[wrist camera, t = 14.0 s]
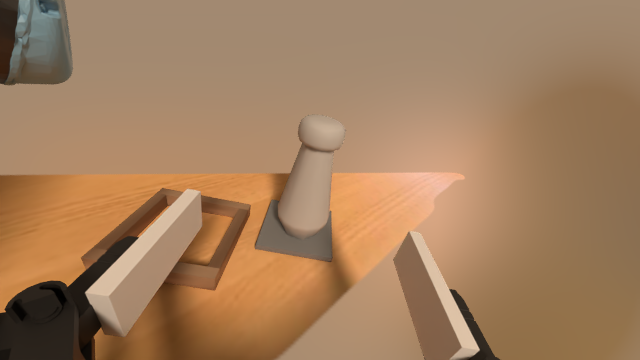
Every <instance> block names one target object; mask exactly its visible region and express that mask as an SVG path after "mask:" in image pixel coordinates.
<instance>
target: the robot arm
mask: <svg viewBox="0 0 640 360" xmlns="http://www.w3.org/2000/svg"><path fill="white" fill-rule="evenodd" d="M72 69H73V67H72V53H71V43H70V36H69V28H68V20H67V14H66V7H65V1H64V0H0V84H4V85H14V84H16V83H23V84H59V83H62V82H65V81H66V80H67V79H68V78H69V77H70V76H71V74H72ZM201 227H202V210H201V191H196V190H191V189H187V190H186V191H185V192H184V193H183V194H182V195H181V196H180V197H179V198H178V199H177V200H176V201H175V202H174V203H173V204H172V205H171V206H170V207H169V208H168V209H167V210H166V211H165V212H164V213H163V214H162V215H161V216H160V217H159V218H158V219H157V220H156V221H155V222H154V223H153V224H152V225H151V226H150V227H149V228H148V229H147V230H146V231H145V232H144V233H143V234H142V235H141V236H140V237H134V236H127V237H125V238H124V239H122V240H120V241H118V242H116V243H115V244H114V245H113V246H112V247H111V248H109V249H108V250H107V251H106V252H105V254H103V255H102V256H101V257H100V258H99V259H98V260H97V262H94V263H93V264H92V265H91V266H90V267H89V268H88V269H87V270H86V271H85V272H84V273H82V274H81V275H80V276H79V277H78V278H77V279H76V280H75V281H74V282H73V283H72V284H71V285H69V286H68V287H67V285H66V284H65V283H63V282H61V281H47V282H42V283H39V284H36V285H33V286H31V287H28V288H27V289H25V290H23V291H22V292H20V293H18V294H17V295H16V296H15V297H14V298H13V299H11V300H10V301H9V302H8V304H7V306H6V308H5V311H6V312H4V313H0V360H95V340H94V337H93V336H94V335H95V334H96V333H97V331H98V330H99V329H100V328H102V330H103V332H104V334H105V335H113V336H121V337H125V336H126V335H127V333H128V332H129V331H130V329H131V328H132V326H133V325H134V323H135V322H136V321H137V319H138V318H139V316H140V315H141V313H142V312H143V310H144V309H145V308H146V306H147V305H148V303H149V302H150V300H151V299H152V298H153V296H154V295H155V293H156V292H157V290H158V289H159V287H160V286H161V285H162V283H163V282H164V280H165V279H166V277H167V276H168V275H169V273H170V272H171V270H172V269H173V267H174V266H175V265H176V263H177V262H178V260H179V259H180V257H181V256H182V254H183V253H184V252H185V250H186V249H187V247H188V246H189V244H190V243H191V242H192V240H193V239H194V237H195V236H196V234H197V233H198V231H199V230H200V229H201ZM393 261H394V264H395V267H396V270H397V273H398V276H399V280H400V283H401V286H402V289H403V292H404V295H405V299H406V302H407V305H408V308H409V311H410V314H411V317H412V321H413V324H414V327H415V330H416V333H417V336H418V339H419V343H420V346H421V349H422V352H423V356H424V359H425V360H500V359H498V358H497V357H495V356H494V354H493V353H492V351H491V349H490V347H489V345H488V343H487V342H486V340H485V338H484V336H483V334H482V332H481V331H480V329H479V327H478V325H477V323H476V321H474V318H473V316H472V314H471V313H470V312H469V309H468V307H467V305H466V303H465V301H464V300H463V299H462V297H461V296H460V295H459V294H458V293H457V292H456V290H452V289H449V288H448V286H447V285H446V283H445V281H444V279H443V277H442V275H441V273H440V271H439V269H438V267H437V265H436V263H435V261H434V259H433V257H432V255H431V253H430V251H429V249H428V247H427V245H426V243H425V241H424V239H423V237H422V235H421V233H418V232H413V231H409V232H408V234H407V236H406V237H405V239H404V241H403V243H402V245H401V247H400V248H399V250H398V252H397V254H396V256H395V257H394V259H393Z"/></svg>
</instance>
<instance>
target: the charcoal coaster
mask: <svg viewBox="0 0 640 360" xmlns="http://www.w3.org/2000/svg"><path fill="white" fill-rule="evenodd" d="M278 203H279V201H277V200H272V201H271V204H270V206H269V209H268V212H267V215H266V217H265V220H264V223H263V226H262V228H261V231H260V234H259V237H258V240H257V242H256V246H255V249H259V250H265V251H270V252H276V253H282V254H288V255H293V256H299V257H305V258H311V259H317V260H322V261H328V262H331V260H332V227H331V211H329V217H328V220H327V223H326V225H325V226H324V227H323V228H322V229H321V230H320V231H319V232H318V233H317V234H316V235H315V236H312V237H309V238H307V239H304V240H300V239H298V238H295V237H292V236H289V235H287V234H286V231H285V229H284V227H283V225H282V223H281V221H280V219H279V217H278Z"/></svg>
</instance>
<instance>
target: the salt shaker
mask: <svg viewBox="0 0 640 360" xmlns="http://www.w3.org/2000/svg"><path fill="white" fill-rule="evenodd" d="M345 131H346V130H345V128H344V126H343V124H342V123H341V122H339V121H337V120H335V119H333V118H331V117H327V116H323V115H308V116H306V117H305V118H303V119H302V120H301V122H300V125H299V129H298V136H299V139H300V141H301V142H302V145H301V148H300V150H299V153H298V155H297V158H296V160H295V163H294V165H293V168H292V171H291V173H290V176H289V178H288V181H287V183H286V186H285V188H284V191H283V193H282V196H281V198H280V201H279V203H278V217H279V219H280V221H281V223H282V225H283V227H284V229H285V231H286V234H287V235H289V236H292V237H295V238H298V239H300V240H304V239H307V238H309V237H312V236H315V235H316V234H317V233H318V232H319V231H320V230H321V229H322V228H323V227H324V226H325V225H326V223H327V220H328V217H329V210H330V194H331V179H332V163H333V153H334V151H335V150H338V149H340V147H341V146H342V144H343V141H344V138H345Z"/></svg>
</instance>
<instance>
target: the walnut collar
mask: <svg viewBox="0 0 640 360" xmlns="http://www.w3.org/2000/svg"><path fill="white" fill-rule="evenodd" d="M183 193H184V192H180V191H175V190H170V189H165V188H162V189H161V190H160V191H159V192H157V193H156V194H155V195H154V196H153V197H152V198H150V199H149V200H148V201H147V202H146V203H144V204H143V205H142V206H141V207H140V208H139V209H137V210H136V211H135V212H134V213H133V214H132V215H130V216H129V217H128V218H127V219H126V220H125V221H123V222H122V223H121V224H120V225H119V226H118V227H116V228H115V229H114V230H113V231H112V232H111V233H109V234H108V235H107V236H106V237H105V238H103V239H102V240H101V241H100V242H99V243H98V244H96V245H95V246H94V247H93V248H92V249H91V250H89V251H88V252H87V253H86V254H85V255H84V256H82V257H81V259H82V261H83V263H84V266H85V268H86V270H87V269H88V268H89V267H90V266H91V265H92V264H93V263H94V262H97V260H98V259H99V258H100V257H101V256H102V255H103V254H105V252H106V251H107V250H108V249H109V248H111V247H112V246H113V245H114V244H115V243H116V242H118V241H120V240H122V239H124V238H125V237H127V236H134V237H136V236H137V235H138V234H139V233H140V232H141V231H142V230H143V229H144V228H145V227H146V226H148V225H149V224H150V223H151V222H152V221H153V220H154V219H155V218H156V217H157V216H158V215H159V214H160V213H161V212H162V211H163V210H164V209H165V208H166V207H167V206H171V205H172V204H173V203H174V202H175V201H176V200H177V199H178V198H179V197H180V196H181V195H182V194H183ZM250 206H251V205H249V204H244V203H239V202H233V201H228V200H223V199H217V198H212V197H207V196H202V195H201V210H202V212H206V213H212V214H217V215H223V216H228V217H234V219H233V221H232V222H231V224H230V226H229V228H228V230H227V232H226V233H225V235H224V237H223V239H222V241H221V243H220V245H219V246H218V248H217V250H216V252H215V254H214V256H213V257H212V259H211V261H210V263H209V265H208V267H207V266H201V265H195V264H189V263H183V262H177V263H176V265H175V266H174V267H173V269H172V270H171V272H170V273H169V275H168V276H167V277H166V279H165V280H164V283H170V284H177V285H183V286H190V287H196V288H203V289H209V290H215V289H216V287H217V285H218V282H219V280H220V278H221V276H222V274H223V272H224V269H225V267H226V265H227V263H228V261H229V259H230V256H231V254H232V252H233V250H234V248H235V246H236V243H237V241H238V239H239V237H240V235H241V233H242V230H243V228H244V226H245V224H246V222H247V220H248V217H249V215H250Z"/></svg>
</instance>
